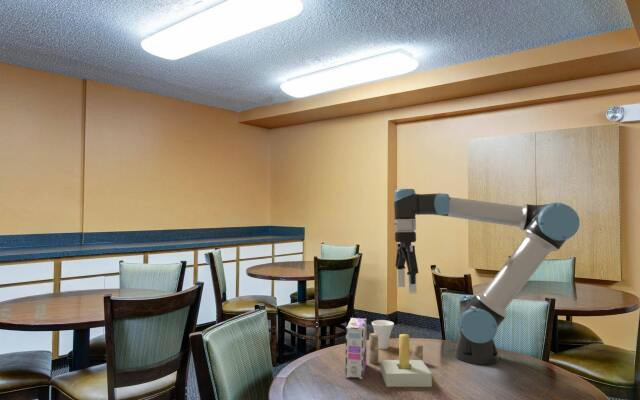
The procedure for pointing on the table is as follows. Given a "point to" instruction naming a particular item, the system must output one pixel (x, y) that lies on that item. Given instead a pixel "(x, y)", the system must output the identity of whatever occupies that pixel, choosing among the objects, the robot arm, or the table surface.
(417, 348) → the pin short
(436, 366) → the table surface
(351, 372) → the candy box
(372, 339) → the pin medium
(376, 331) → the cup
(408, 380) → the socket block
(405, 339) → the pin long
